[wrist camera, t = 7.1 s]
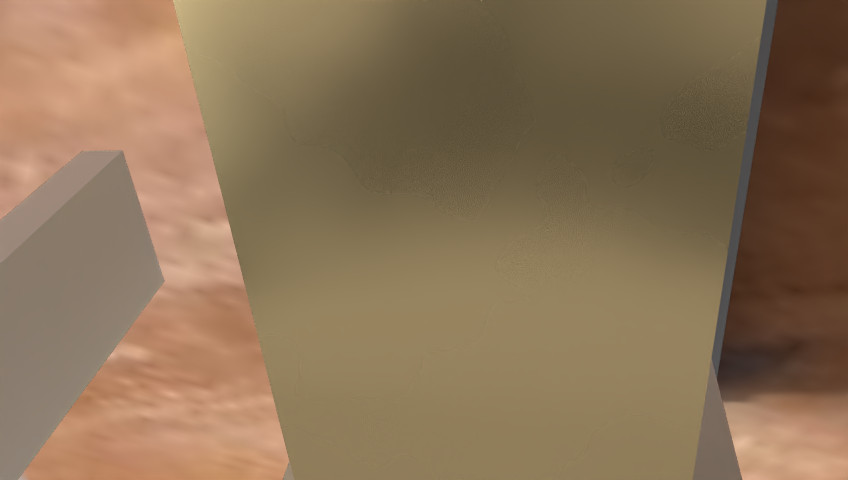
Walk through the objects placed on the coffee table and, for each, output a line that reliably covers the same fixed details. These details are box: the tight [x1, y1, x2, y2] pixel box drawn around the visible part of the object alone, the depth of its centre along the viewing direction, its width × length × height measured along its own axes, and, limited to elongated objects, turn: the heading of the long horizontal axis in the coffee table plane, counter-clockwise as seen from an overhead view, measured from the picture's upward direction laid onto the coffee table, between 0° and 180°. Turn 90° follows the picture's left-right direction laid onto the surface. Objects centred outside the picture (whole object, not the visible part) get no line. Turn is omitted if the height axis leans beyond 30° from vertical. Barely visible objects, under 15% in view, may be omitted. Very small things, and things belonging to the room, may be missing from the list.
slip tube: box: [173, 0, 767, 480], centre depth 9 cm, size 18×4×4 cm, turn 5°
